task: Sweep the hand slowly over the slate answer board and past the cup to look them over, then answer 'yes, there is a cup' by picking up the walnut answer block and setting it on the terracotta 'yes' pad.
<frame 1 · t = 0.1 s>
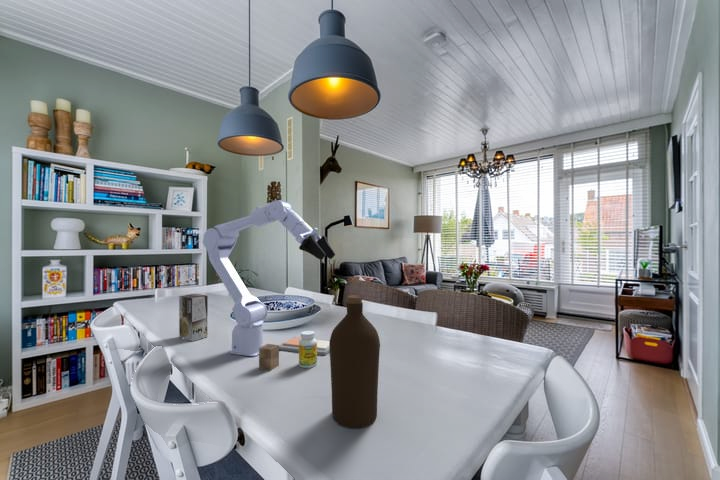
hand: (328, 257, 94), 32 cm above the table, tool tilted 50°, fingers open, 7 cm apart
supplement bottle: (307, 365, 91), on the table
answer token: (269, 367, 90), on the table
coffee box: (193, 338, 117), on the table
olive oil: (355, 416, 64), on the table
answer board: (308, 347, 107), on the table
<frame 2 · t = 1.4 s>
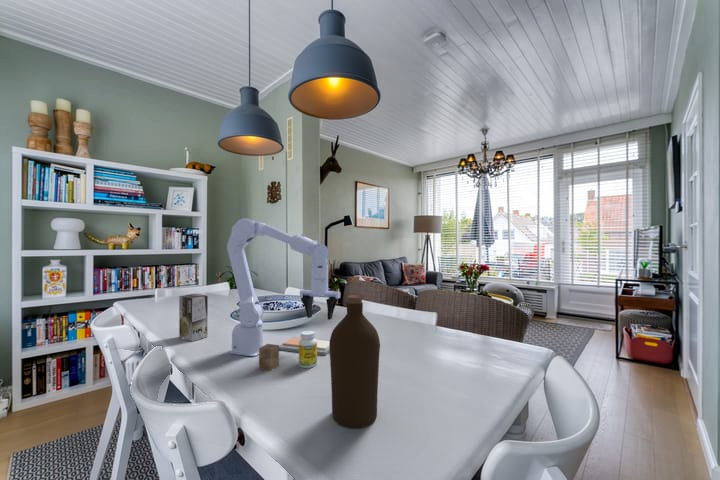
hand: (319, 318, 105), 10 cm above the table, tool pointing down, fingers open, 7 cm apart
nothing on the table moved.
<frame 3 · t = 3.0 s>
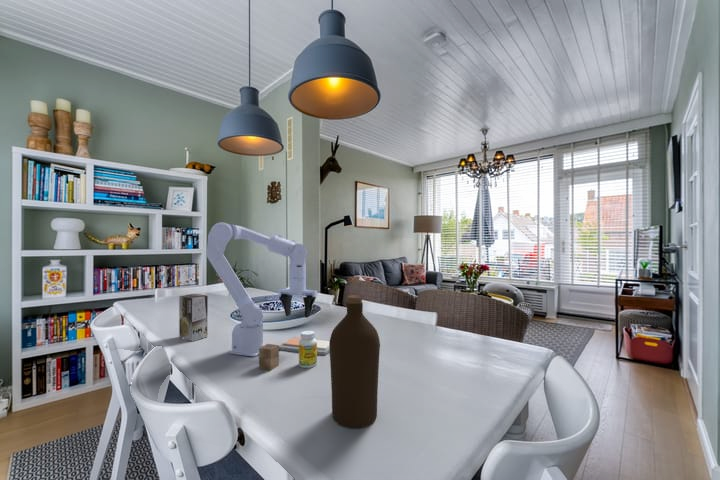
hand: (297, 316, 108), 10 cm above the table, tool pointing down, fingers open, 7 cm apart
nothing on the table moved.
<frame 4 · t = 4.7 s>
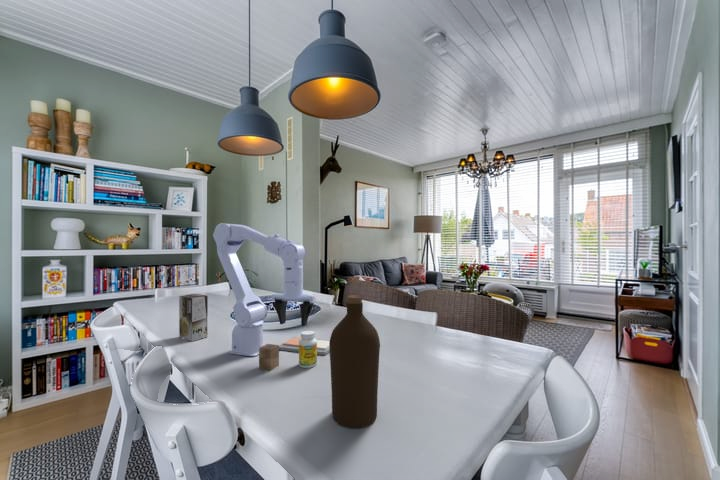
hand: (293, 324, 97), 10 cm above the table, tool pointing down, fingers open, 7 cm apart
nothing on the table moved.
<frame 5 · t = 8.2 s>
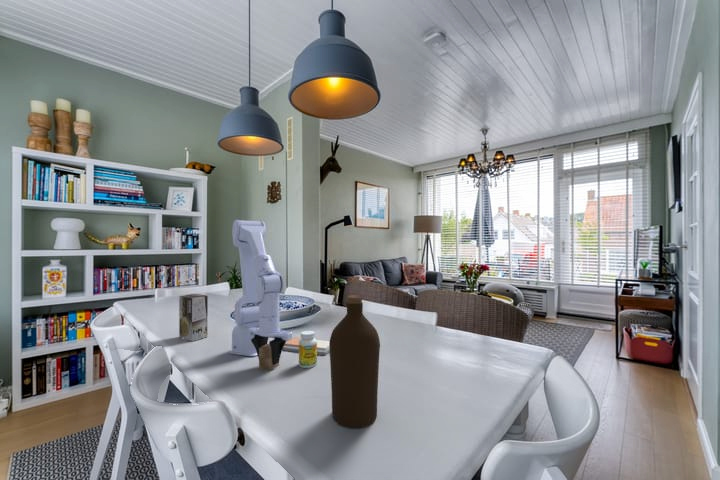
hand: (269, 362, 90), 1 cm above the table, tool pointing down, fingers closed on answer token, 4 cm apart
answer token: (269, 367, 90), on the table, touching gripper
everything else where it was.
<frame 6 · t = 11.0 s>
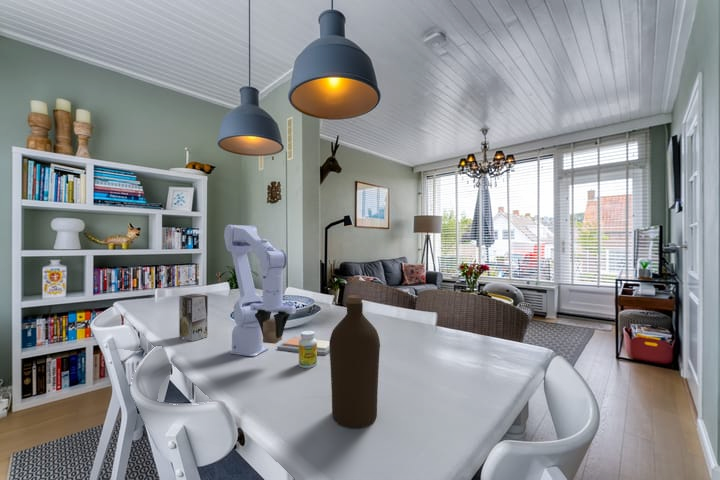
hand: (272, 336, 92), 8 cm above the table, tool pointing down, fingers closed on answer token, 4 cm apart
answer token: (272, 341, 92), point 7 cm above the table, touching gripper
everything else where it was.
when the fingers open (4 cm above the table, at t = 14.1 s): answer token drops 1 cm, resting on answer board.
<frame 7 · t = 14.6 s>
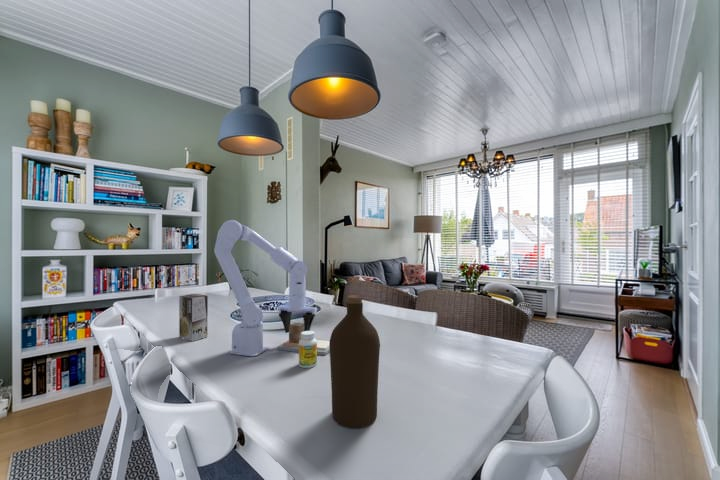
hand: (297, 332, 108), 4 cm above the table, tool pointing down, fingers open, 7 cm apart
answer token: (296, 341, 108), point 2 cm above the table, touching answer board
everything else where it was.
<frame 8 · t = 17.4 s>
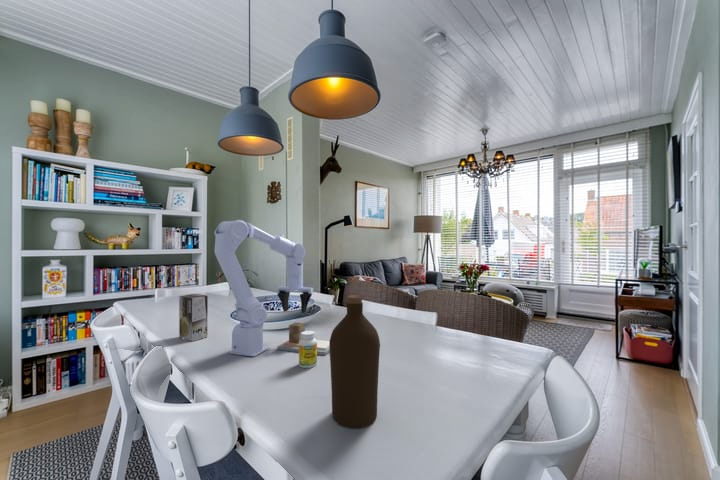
hand: (294, 311, 115), 10 cm above the table, tool pointing down, fingers open, 7 cm apart
nothing on the table moved.
at the end: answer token 0.2 cm from the target spot on the answer board, point 1.6 cm above the answer board's base; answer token tilted 0°; the gripper is holding nothing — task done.
